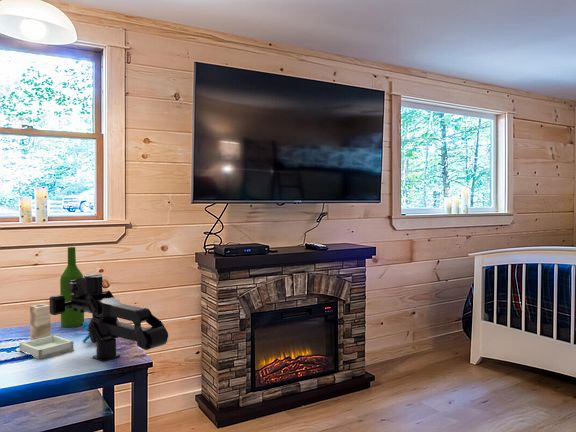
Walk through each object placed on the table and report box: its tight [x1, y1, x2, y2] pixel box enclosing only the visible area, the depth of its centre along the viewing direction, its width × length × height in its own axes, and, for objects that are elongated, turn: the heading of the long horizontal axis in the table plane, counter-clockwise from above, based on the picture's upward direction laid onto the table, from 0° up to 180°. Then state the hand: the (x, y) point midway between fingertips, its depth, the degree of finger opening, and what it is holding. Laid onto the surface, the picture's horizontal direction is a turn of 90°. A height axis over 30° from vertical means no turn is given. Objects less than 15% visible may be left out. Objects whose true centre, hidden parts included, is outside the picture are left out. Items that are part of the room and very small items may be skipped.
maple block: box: [29, 303, 52, 341], centre depth 176 cm, size 5×5×13 cm
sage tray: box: [19, 334, 74, 360], centre depth 164 cm, size 13×12×3 cm
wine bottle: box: [59, 246, 85, 328], centre depth 197 cm, size 9×9×32 cm
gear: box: [82, 321, 90, 344], centre depth 175 cm, size 11×6×10 cm
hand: (64, 298), depth 171 cm, fingers open, 9 cm apart
